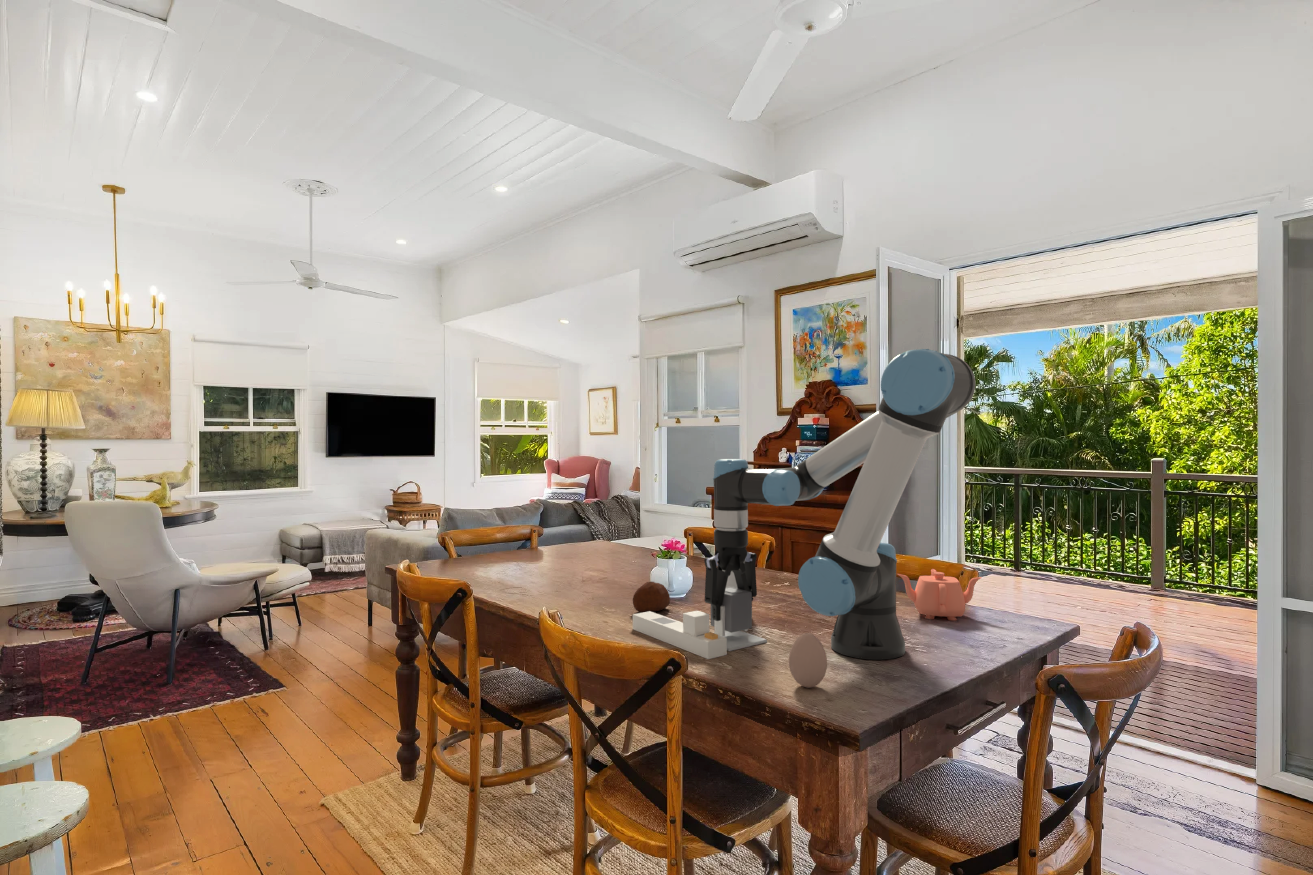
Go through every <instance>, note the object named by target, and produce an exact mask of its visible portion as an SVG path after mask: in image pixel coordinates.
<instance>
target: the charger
mask: <svg viewBox="0 0 1313 875" xmlns="http://www.w3.org/2000/svg"><path fill="white" fill-rule="evenodd" d="M752 598H753V597H752V592H750V591H746V590H742V589H738V588H735V587H726V589H725V593H724V598H723V602H722V605H723V606H725V631H728V632H731V633H732V632H736V631H743V630H746V629H748V630H750V629H752V628H753V620H752V619H753V601H752ZM710 626H711V627H714V620H713V618H712V605H711V604H710Z"/></svg>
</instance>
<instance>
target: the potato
mask: <svg viewBox="0 0 1313 875" xmlns="http://www.w3.org/2000/svg"><path fill="white" fill-rule="evenodd" d="M670 602H671V597H670V594H669V590H668V589H667V588H666V586H665V585H664V584H662V583H659V582H655V581H646V582H645V583H644V584H642V585H641V586H639V587H638V588H637V589H636V590H635V592H634V593H633V596H632V606H633V608H634V609H635V611H637V612H638V613H643V612H649V611H651V612H654V613H656V612H658V611H663V610H664V609H666V608H668V607H669V606H670Z"/></svg>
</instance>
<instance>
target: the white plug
mask: <svg viewBox="0 0 1313 875" xmlns="http://www.w3.org/2000/svg"><path fill="white" fill-rule="evenodd" d="M682 623H683V632H685V633H688V634H690V635H693V636H698V635H702V634H705V633H708V632H710V614H709V613H706V612H704V611H702V610H701V611H700V610H693V611H688V612H687V611H686V612H683V613H682Z"/></svg>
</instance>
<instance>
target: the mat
mask: <svg viewBox="0 0 1313 875" xmlns="http://www.w3.org/2000/svg"><path fill="white" fill-rule="evenodd" d="M722 637H725V638H727V651H728V652H731V651H735V650H740V649H744V648H748V647H753V646H757V645H760V644H766V643H768V640H767V639H766V638H763V637H760V636H757V635H754V634H751V633H748V632H747V631H743V630H741V631H736V632H732V633H731V632H728V631H725V636H722Z"/></svg>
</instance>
